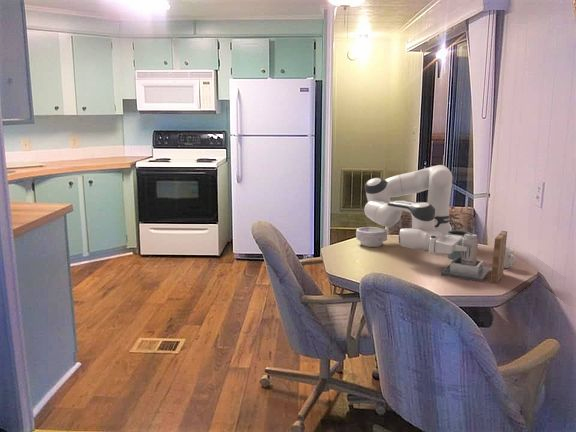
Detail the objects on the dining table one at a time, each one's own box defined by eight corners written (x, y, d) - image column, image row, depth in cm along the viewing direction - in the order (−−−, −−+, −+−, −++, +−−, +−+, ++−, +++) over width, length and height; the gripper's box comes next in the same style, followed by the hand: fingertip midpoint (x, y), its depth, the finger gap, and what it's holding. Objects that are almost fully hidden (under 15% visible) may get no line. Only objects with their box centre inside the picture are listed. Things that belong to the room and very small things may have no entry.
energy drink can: (457, 270, 213) (460, 234, 210) (463, 267, 217) (466, 232, 215) (471, 273, 209) (474, 237, 206) (477, 270, 214) (481, 234, 211)
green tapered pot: (469, 261, 231) (472, 235, 229) (446, 260, 233) (448, 234, 231) (466, 255, 241) (469, 230, 239) (444, 254, 243) (446, 229, 241)
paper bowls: (362, 239, 269) (363, 224, 267) (390, 243, 261) (391, 228, 259) (350, 245, 256) (351, 230, 254) (379, 250, 248) (380, 234, 247)
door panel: (497, 273, 215) (502, 230, 212) (502, 273, 214) (507, 231, 211) (490, 283, 202) (494, 238, 198) (496, 284, 201) (500, 239, 197)
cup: (520, 270, 219) (522, 252, 218) (505, 272, 217) (507, 253, 215) (503, 263, 229) (505, 246, 228) (488, 264, 227) (489, 247, 225)
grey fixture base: (452, 265, 226) (452, 253, 225) (490, 271, 218) (491, 259, 217) (440, 275, 211) (441, 263, 210) (482, 282, 203) (483, 270, 202)
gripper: (441, 244, 228) (474, 248, 221) (428, 254, 211) (463, 259, 204) (442, 230, 227) (475, 234, 220) (429, 239, 209) (464, 244, 203)
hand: (469, 246), depth 212 cm, fingers open, 8 cm apart
